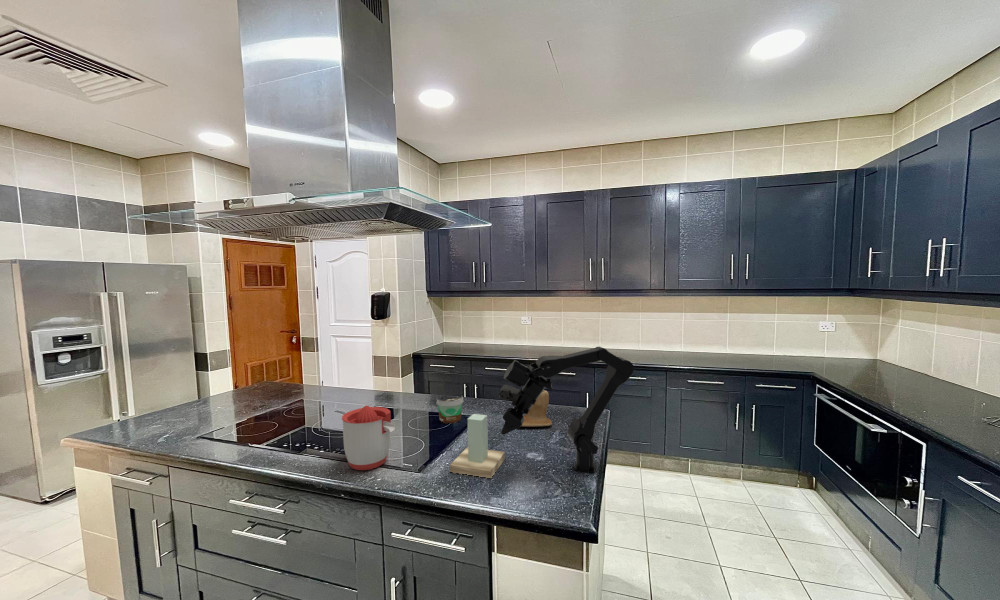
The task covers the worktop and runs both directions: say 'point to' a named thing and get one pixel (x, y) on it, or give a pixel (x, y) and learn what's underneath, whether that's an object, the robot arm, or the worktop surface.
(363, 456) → the citrus juicer
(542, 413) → the stone cup
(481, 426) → the sage block
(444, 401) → the food container
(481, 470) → the birch base
